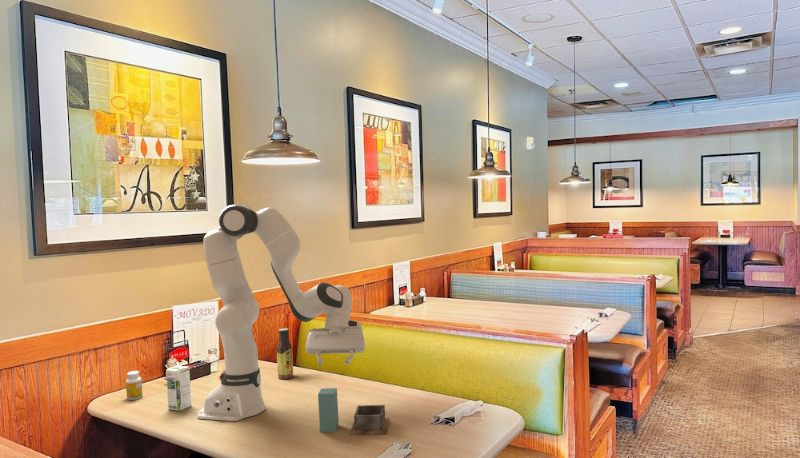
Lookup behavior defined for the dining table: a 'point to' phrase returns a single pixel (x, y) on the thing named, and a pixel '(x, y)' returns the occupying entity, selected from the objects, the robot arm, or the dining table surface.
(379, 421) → the box
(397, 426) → the dining table surface
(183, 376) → the syrup box
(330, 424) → the teal block
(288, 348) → the sauce bottle
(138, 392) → the supplement bottle
